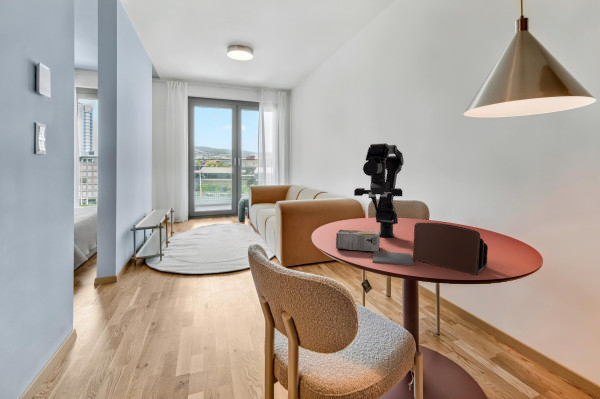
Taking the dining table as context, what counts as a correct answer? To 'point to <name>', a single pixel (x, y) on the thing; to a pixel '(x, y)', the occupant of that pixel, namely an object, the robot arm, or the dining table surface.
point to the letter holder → (450, 247)
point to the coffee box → (358, 240)
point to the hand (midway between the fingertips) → (377, 212)
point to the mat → (392, 258)
